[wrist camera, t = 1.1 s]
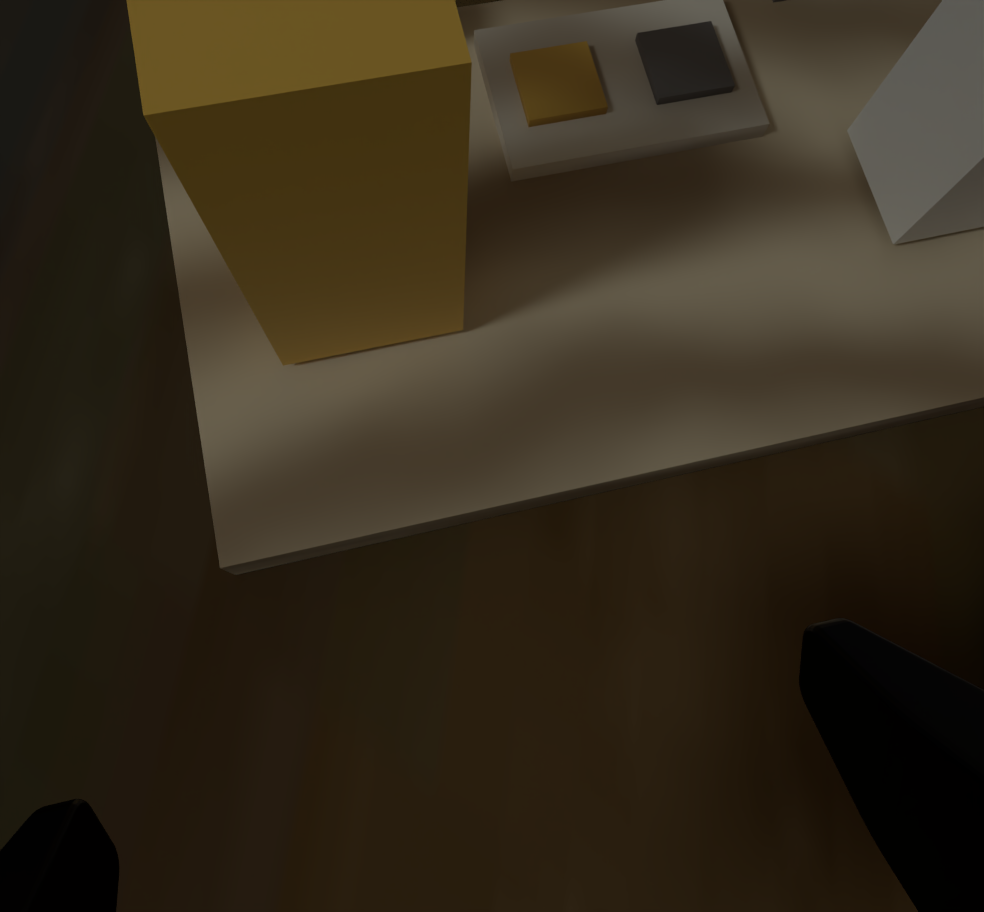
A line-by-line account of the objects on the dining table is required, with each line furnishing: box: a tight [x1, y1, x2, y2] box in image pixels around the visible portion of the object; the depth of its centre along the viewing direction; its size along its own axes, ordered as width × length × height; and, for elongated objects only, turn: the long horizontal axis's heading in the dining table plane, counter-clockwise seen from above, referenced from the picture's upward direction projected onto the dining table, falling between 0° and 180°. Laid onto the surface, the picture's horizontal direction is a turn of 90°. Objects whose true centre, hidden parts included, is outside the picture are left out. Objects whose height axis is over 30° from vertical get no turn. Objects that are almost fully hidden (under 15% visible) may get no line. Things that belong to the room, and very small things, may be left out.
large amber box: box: [127, 0, 472, 366], centre depth 17 cm, size 4×5×10 cm
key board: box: [156, 0, 984, 575], centre depth 23 cm, size 16×28×4 cm, turn 103°
